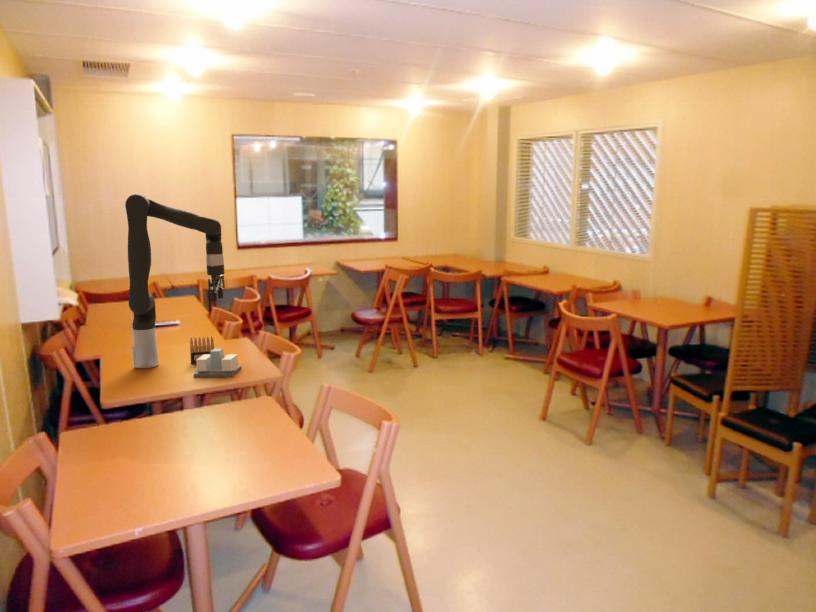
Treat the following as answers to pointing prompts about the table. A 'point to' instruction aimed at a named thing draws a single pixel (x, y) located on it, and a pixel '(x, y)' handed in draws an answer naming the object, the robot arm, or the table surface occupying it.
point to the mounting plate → (216, 373)
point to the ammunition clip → (200, 348)
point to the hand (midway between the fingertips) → (217, 299)
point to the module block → (216, 358)
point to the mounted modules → (227, 362)
